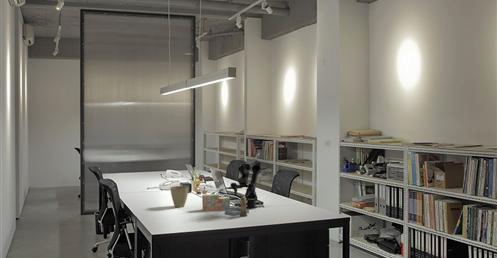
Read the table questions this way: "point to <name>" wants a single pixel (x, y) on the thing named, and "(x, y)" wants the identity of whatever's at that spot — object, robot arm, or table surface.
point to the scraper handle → (243, 207)
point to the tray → (235, 211)
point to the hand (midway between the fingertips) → (241, 196)
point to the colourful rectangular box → (215, 202)
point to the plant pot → (179, 195)
